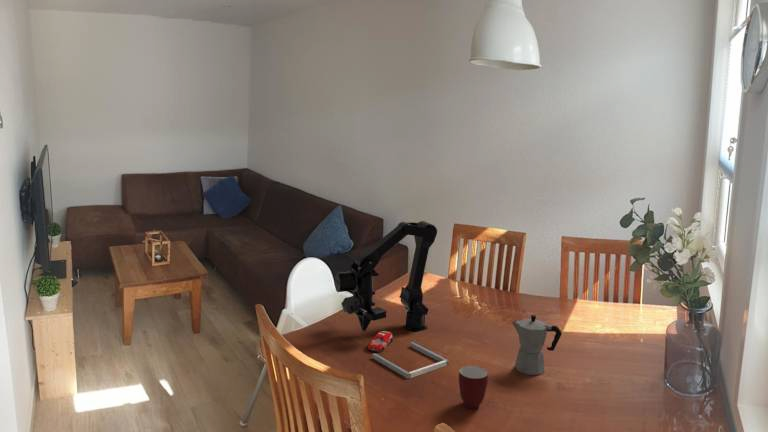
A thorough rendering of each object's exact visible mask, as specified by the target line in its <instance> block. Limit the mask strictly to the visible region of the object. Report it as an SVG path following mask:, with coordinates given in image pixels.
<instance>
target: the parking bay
mask: <svg viewBox="0 0 768 432" xmlns="http://www.w3.org/2000/svg"><path fill="white" fill-rule="evenodd" d="M409 346H410V348H412V349H413V350H415V351H418V352H420V353H422V354H424V355H425V356H428V357H429V358H431V359H433V360H435V361H437V362H434V363H432V364H429V365H426V366H424V367H421V368H417V369H415V370H412V371H408V370H406V369H404V368H402V367H400V366H398V365H396V364H395V363H393V362H391V361H390V360H387V359H385V358H384V357H383V356H381V355H380V354H378V353H377V352H375V353H372V359H373V360H375V361H377V362H378V363H380V364H382V365H384V366H385V367H387V368H389V369H390V370H392V371H394V372H396V373H397V374H399V375H400V376H402V377H404V378H406V379H407V380H409V379H413V378H415V377H418V376H421V375H424V374H427V373H430V372H433V371H435V370H438V369H442V368H445V367H446V366H449V365H450V360H449V359H447V358H445V357H443V356H441V355H440V354H437V353H435V352H434V351H432V350H430V349H427V348H425V347H423V346H422V345H420V344H418V343H416V342H413V341H412V342H411V341H410V345H409Z"/></svg>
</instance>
